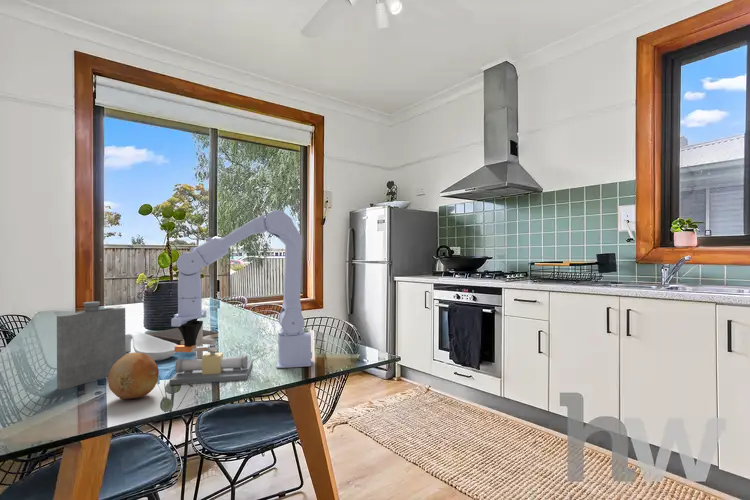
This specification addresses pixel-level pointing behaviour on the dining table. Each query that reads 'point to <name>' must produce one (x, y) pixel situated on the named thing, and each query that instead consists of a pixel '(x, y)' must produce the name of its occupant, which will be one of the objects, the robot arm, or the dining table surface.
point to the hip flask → (89, 344)
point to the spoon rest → (150, 346)
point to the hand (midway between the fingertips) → (190, 348)
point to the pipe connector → (203, 342)
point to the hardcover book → (177, 335)
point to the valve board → (211, 376)
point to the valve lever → (195, 348)
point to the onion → (133, 376)
